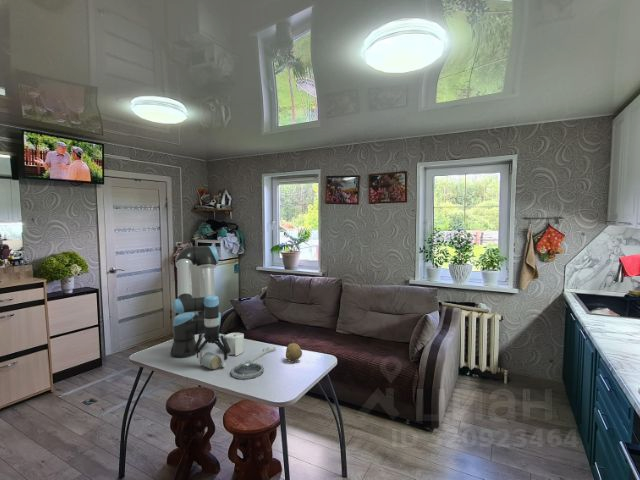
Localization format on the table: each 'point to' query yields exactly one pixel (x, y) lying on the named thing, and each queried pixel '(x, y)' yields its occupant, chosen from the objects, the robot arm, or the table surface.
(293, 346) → the natural sponge
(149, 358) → the table surface
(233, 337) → the toilet tissue
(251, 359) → the adjustable wrench
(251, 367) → the flange seat
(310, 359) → the table surface
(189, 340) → the robot arm
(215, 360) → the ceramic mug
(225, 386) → the table surface
